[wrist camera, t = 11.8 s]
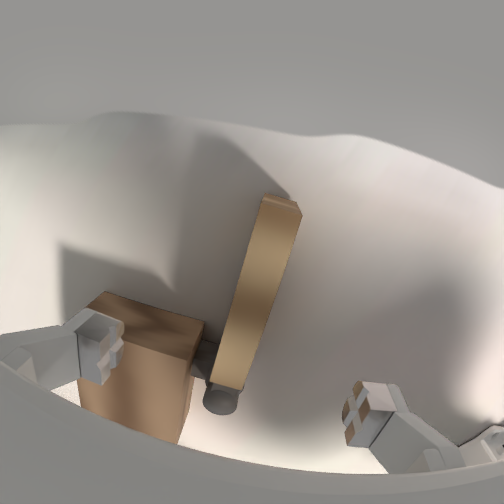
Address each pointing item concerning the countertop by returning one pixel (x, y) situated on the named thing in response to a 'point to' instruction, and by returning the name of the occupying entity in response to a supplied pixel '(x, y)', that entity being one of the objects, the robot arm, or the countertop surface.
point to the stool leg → (252, 300)
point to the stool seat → (150, 369)
